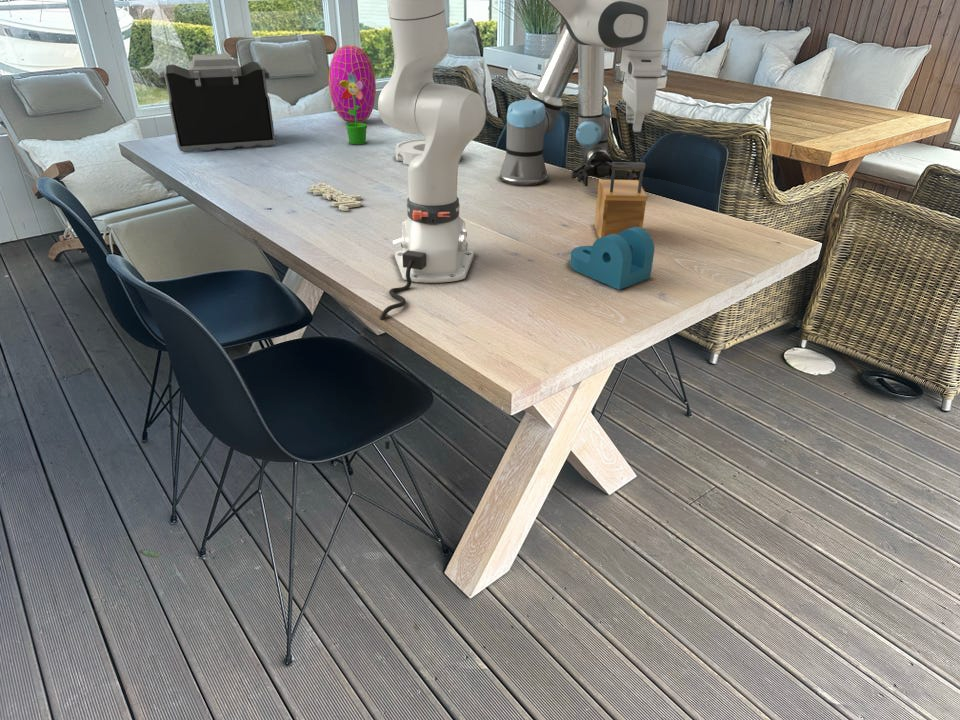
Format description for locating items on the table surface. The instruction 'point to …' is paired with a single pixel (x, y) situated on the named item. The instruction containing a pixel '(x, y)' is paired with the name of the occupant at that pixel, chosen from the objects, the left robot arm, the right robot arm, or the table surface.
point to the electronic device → (219, 104)
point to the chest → (617, 215)
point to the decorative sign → (336, 196)
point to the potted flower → (354, 129)
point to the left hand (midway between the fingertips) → (633, 126)
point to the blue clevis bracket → (616, 258)
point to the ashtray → (409, 150)
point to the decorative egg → (361, 68)
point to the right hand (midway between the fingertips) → (610, 182)
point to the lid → (624, 184)
